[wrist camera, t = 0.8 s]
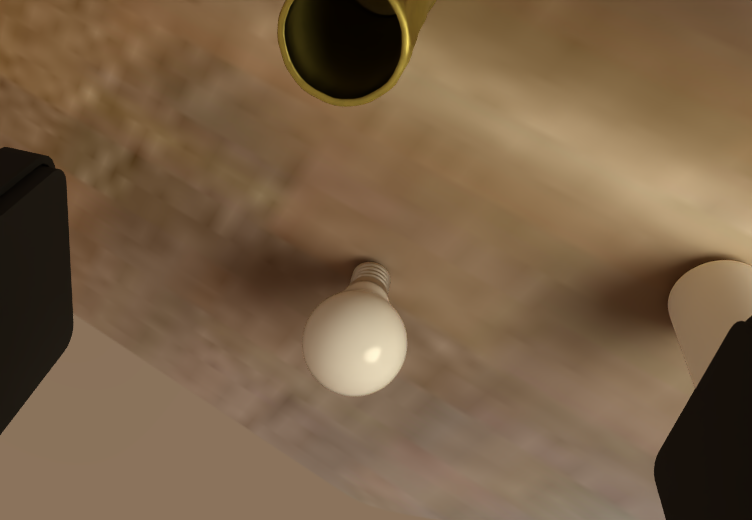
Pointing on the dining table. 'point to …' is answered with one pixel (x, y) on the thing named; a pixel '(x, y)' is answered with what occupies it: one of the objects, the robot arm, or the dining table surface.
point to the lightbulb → (356, 336)
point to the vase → (349, 45)
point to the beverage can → (709, 309)
